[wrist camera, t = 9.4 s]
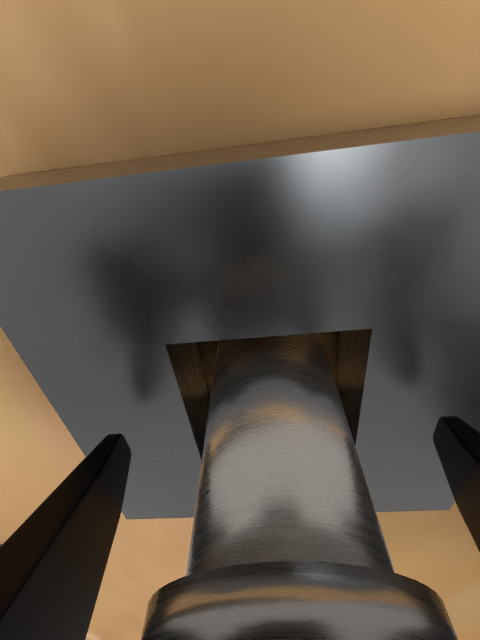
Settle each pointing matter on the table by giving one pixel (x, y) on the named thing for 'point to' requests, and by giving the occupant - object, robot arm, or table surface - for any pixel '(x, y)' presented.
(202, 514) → the silver flanged peg
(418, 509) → the socket block
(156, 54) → the table surface
